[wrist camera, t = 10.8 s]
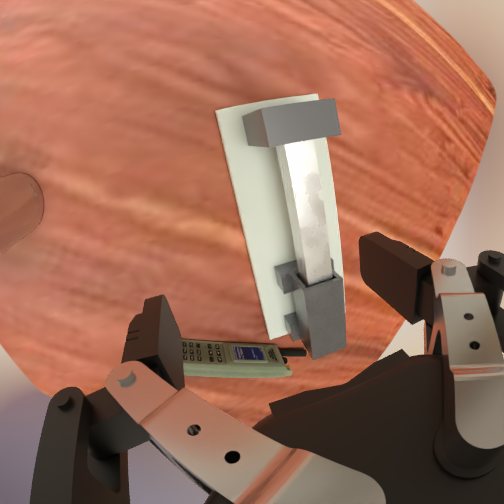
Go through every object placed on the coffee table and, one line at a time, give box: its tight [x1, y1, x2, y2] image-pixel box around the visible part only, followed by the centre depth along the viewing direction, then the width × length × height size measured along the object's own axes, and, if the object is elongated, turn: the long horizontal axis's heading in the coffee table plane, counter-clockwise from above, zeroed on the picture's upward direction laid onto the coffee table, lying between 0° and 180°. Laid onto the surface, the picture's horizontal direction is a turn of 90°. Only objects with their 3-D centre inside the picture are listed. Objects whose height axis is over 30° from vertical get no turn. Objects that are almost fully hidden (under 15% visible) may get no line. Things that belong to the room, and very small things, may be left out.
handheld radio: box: [182, 339, 307, 378], centre depth 47 cm, size 7×3×25 cm
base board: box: [215, 94, 345, 340], centre depth 43 cm, size 14×36×2 cm, turn 13°
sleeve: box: [274, 258, 346, 360], centre depth 43 cm, size 8×12×9 cm, turn 13°
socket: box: [242, 98, 341, 148], centre depth 32 cm, size 8×4×10 cm, turn 103°
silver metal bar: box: [276, 139, 333, 288], centre depth 36 cm, size 3×24×3 cm, turn 13°
